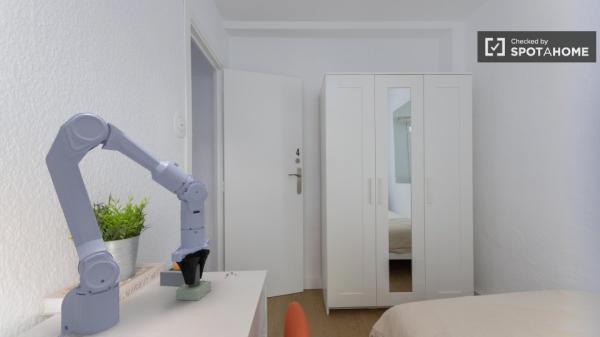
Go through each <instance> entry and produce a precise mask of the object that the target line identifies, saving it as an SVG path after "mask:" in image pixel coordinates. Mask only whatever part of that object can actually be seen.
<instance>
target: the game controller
mask: <svg viewBox="0 0 600 337" xmlns="http://www.w3.org/2000/svg"><path fill="white" fill-rule="evenodd" d="M233 274H234V276H237V273H234V271H229V272H228V273H226V274H225V275H224V279H227V280H228V279H229V278H230V277H231V275H233Z"/></svg>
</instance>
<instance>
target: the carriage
mask: <svg viewBox="0 0 600 337" xmlns="http://www.w3.org/2000/svg"><path fill="white" fill-rule="evenodd" d="M211 282H212V281H211V280H201V279H200V264H197V267H196V276H195V283H194V284H193V285H185V284H183V285H182V286H178V288H176V289H175V300H178V301H193V302H195V301H198V302H199V301H200V300H201V299H203V298H204V297H205V296H206V295H207V294H208V293H209V292H211V290H212V283H211Z"/></svg>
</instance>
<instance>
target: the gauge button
mask: <svg viewBox="0 0 600 337" xmlns="http://www.w3.org/2000/svg"><path fill="white" fill-rule="evenodd" d="M172 265H173V271H181V270H180V268H179V266H178V264H177V263H176V262H172Z"/></svg>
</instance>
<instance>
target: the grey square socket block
mask: <svg viewBox="0 0 600 337" xmlns="http://www.w3.org/2000/svg"><path fill="white" fill-rule="evenodd" d="M159 284H160V286H161V287H180V286H182V285H183V284H185V281H184V278H183V275H182V272H181V271H173V264H172V265H170V266H168V267H167V268H165V269H162V270H161V271H160V272H159Z"/></svg>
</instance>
